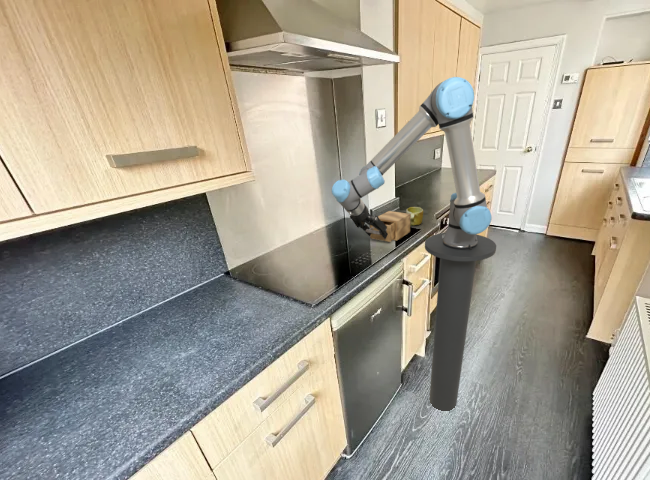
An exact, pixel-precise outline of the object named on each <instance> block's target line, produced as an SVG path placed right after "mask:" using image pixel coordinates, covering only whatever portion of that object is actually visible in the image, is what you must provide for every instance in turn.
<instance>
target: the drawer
mask: <svg viewBox="0 0 650 480" xmlns="http://www.w3.org/2000/svg"><path fill="white" fill-rule="evenodd" d="M382 222H383V223H384V224H385V225H386V226H387V229H386V231H387V233H388V235H387V237H386V239H384V238H383V236H382V235H381V234H380V233H379V230H377V229H376V228H375V227H373V226H372V225H369V228H370V229H366V232H367V233H371V235H370V236H369V239H371V240H377V241H383V242H386V243H387V242H388V243H391V242H392V241H393V240H392V239H393V238H395V223H393V222H387V221H382ZM366 232H365V233H366ZM367 233H366V234H367Z"/></svg>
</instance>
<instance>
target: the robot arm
mask: <svg viewBox="0 0 650 480" xmlns="http://www.w3.org/2000/svg"><path fill="white" fill-rule="evenodd" d="M474 101H475V92H474V88H473V86H472V84H471V83H470V82H469V81H468V80H467V79H465V78H464V77H459V76H452V77H449V78H447V79H445V80H443V81H442V82H439V84H437V85H436V86H435V87H434V88H433V90H432V91H431V92H430V94H429V95H428V97H427V98H425V100H424V101H423V102H422V103H421V104H420V105H419V106H418V111H417V112H416V114H414V115H413V116H412V117H411V118H410V120H409V121H408V122H407V123H405V125H403V127H402V128H400V129H399V130H398V132H396V134H395V135H394V136H393V137H392V138H391V139H390V140H389V141H388V142H387V143H386V144H385V145H384V146H383V147H382V148H381V149H380V150H379V151H378V152H377V154H375V155H374V157H372V158H371V160H370V161H369V162H368V163H367V164H365V166H363V167H362V168H361V169H360V170H359V174H358V175H357V176H356V177H354V178H353V179H351V180H349V181H347V180H346V179H338V180H337V181H335V182H334V183H333V185H332V187H331V195H332V196H333V197H334V199H335V200H336V202H338V203H339V205H341V207H342V208H343V209H344V210H345V211H346V212H347V214H348V215H349V218H350V219H351V220H352V222H353V223H354V224H355V227H356V228H358V229H359V228H360V229H361V230H363V231H364V232H365V233H366V234H367V236H368V237H370V235H371V233H367V232H366V229H370V225H372V226H373V227H375V228H376V229H377V230H379V233H380V234H381V235H382V236H383V238H384V239H386V237H387V235H388V233H387V231H386V229H387V226H386V225H385V224H384V223H383V222H382V221H381V220H380V219H379V218H378V216H379V215H375V216H372V214H370V211H369V208H368V206H367V205H366V204H365V202H364V201H363V200H362V198H363V197H365V196H367V195H368V194H370V193H372V192H374V191H375V190H377V189H380V188H381V187H382V186H384V184H385V179H384V176H383V175H384V174H386V173H387V171H388V170H389V169H390V168H392V167H393V166H394V164H396V163H397V162H398V161H399V160H400V159H401V158H402V157H403V156H404V155H405V154H406V153H407V152H408V151H409V150H410V149H411V148H412V147H413V146H414V145H415V144H416V143H417V142H418V141H419V140H420V139H421V138H422V137H423V136H425V134H426V133H428V131H429V130H431V128H437V126H438V127H439V130H440V131H442V132H443V133H444V135H445V140H446V141H445V142H446V147H447V151H448V157H449V162H450V168H451V172H452V177H453V183H454V188H455V192H453V193H452V194H451V195H450V200H449V212H448V224H447V228H446V230H445V232H444V233H445V234H444V235H442V238H443V244H444V245H445V246H447V247H449V248H453V249H470V250H472V248H474V247H476V246H477V242H478V241H477V235H480V234H481V233H483V232H485V231H486V230H487V229H488V228H489V226H490V224H491V223H492V219H493V217H492V212H491V211H490V209H489V207H488V206H487V198H486V194H485V193H483V192H482V191H481V189H480V188H481V187H480V182H479V174H478V169H477V162H476V155H475V149H474V144H473V136H472V129H471V123H472V121H473V119H474V117H475V116H474V112H473V104H474ZM365 223H366V224H365ZM368 225H369V226H368ZM476 234H477V235H476Z"/></svg>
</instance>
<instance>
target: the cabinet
mask: <svg viewBox="0 0 650 480" xmlns="http://www.w3.org/2000/svg"><path fill="white" fill-rule="evenodd" d="M377 216H378V218H379V219H380V220H381V221H387V222H393V223H395V238H393V239H392V241H396V242H397V241H398V240H401V239H402V238H403V237H404V236H406V235H408V234H409V233H411V225H410V217H411V214H408V213H406V212H400V211H393V210H392V211H391V210H388V211H386V212H384V213H382V214H380V215H377Z"/></svg>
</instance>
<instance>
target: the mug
mask: <svg viewBox="0 0 650 480" xmlns="http://www.w3.org/2000/svg"><path fill="white" fill-rule="evenodd" d="M405 213H408V214H411V217H410V227H411V226H419V225H421V224H422V222H423V218H424V209H423V208H422V207H420V206H410V207H408V208H406V210H405Z"/></svg>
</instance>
